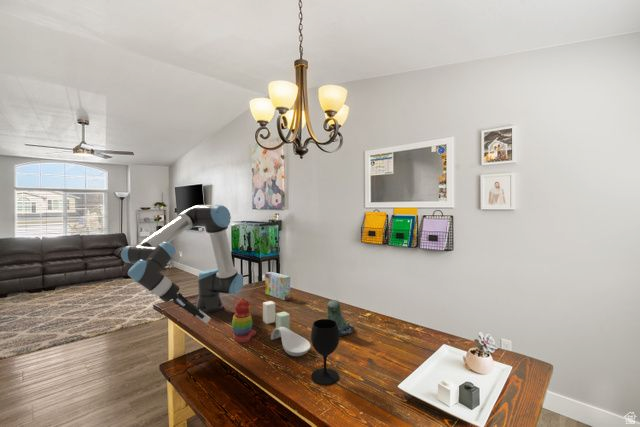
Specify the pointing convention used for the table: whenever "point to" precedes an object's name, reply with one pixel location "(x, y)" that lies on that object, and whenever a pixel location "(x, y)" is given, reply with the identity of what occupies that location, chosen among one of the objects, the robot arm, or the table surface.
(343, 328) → the tree stump
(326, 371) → the wine glass
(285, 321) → the sage-green block
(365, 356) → the table surface
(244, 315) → the stacking bear
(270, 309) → the off-white block
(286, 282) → the snack box
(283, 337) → the spoon rest
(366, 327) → the table surface
